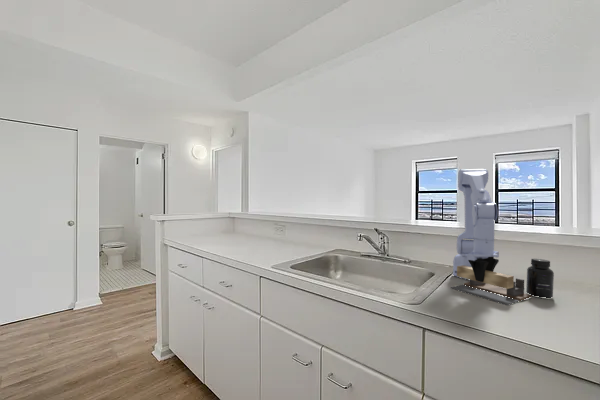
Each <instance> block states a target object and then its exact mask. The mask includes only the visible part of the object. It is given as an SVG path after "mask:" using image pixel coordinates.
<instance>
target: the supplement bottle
mask: <svg viewBox="0 0 600 400" xmlns="http://www.w3.org/2000/svg"><path fill="white" fill-rule="evenodd" d="M530 261H531V262H530V266H528V267H527V268H526V285H525V286H526V288H525V289H526V290H525V292H527V293H529V294H531V295H534V296H539V297H546V298H551V297H554V278H555V273H554V271H553V270H552V269H551V268H550V267H551V261H550V260H548V259H542V258H531V259H530ZM527 293H526V294H527Z"/></svg>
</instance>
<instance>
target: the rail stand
mask: <svg viewBox="0 0 600 400" xmlns="http://www.w3.org/2000/svg"><path fill="white" fill-rule="evenodd" d="M463 285H466V286H470V287H473V288H477V289H481V290H485V291H488V292H492V293H496V294H500V295H503V296H507V297H510V298H513V299H516V300H519V302H520V301H521V300H524V299H526V298H529V297H532V298H533V296H532V295H528V294H527V293H525V279H522V278H515V281H514V284H513V288H509V289H506V288H502V287H498V286H494V285H490V284H486V283H482V282H478V281H474V280H469V281H467V282H463ZM524 301H525V300H524ZM521 302H522V301H521Z"/></svg>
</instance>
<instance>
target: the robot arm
mask: <svg viewBox="0 0 600 400" xmlns="http://www.w3.org/2000/svg"><path fill="white" fill-rule="evenodd" d="M457 179H458V180H457V188H458V191H461V192H463V193H462V194H463V197H464V199H463V200H464V231H463V232H461V233H460V234H458V236H457V238H456V253H457V254H456V255H455V256H454V257H453V261H452V262H453V263H452V264H453V265H452V267H453V269H452V270H453V271H452V275H454V276H457V266H462V265H464V266H469V267H472V269H473V272H474V275H475V279H476V281H480V282H483V281H484V276H485V270H487V271H492V272H495V271H494V270H495V268H496V266H497V265H498V264H499V257H500V251H496V250H495V226H496V225H495V221H497V219H498V205H497V203H496V202H494V201H493V200H492V198H491V195H490V192H489V191H488V190H487V189H485V188H486V186H487V183H488V182H489V170H488V169H487V168H471V169H470V168H467V169H466V168H460V169H459V170H458V174H457ZM454 276H453V277H454ZM456 278H458V276H457V277H456ZM460 279H462V277H461V278H460ZM464 280H466V278H465V279H464Z"/></svg>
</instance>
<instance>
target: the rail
mask: <svg viewBox="0 0 600 400" xmlns="http://www.w3.org/2000/svg"><path fill="white" fill-rule="evenodd" d="M457 276H458V277H462V278H466V279H470V280H474V281H476V279H475V275H474V272H473V269H472V267H469V266H464V265H462V266H457ZM458 277H457V278H458ZM462 278H461V279H462ZM466 279H465V280H466ZM470 280H469V281H470ZM478 282H480V281H478ZM514 282H515V278H514V275H509V274H505V273H500V272H496V271H493V272H492V271H487V270H485V276H484V281H483V282H482V283H486V284H489V285H493V286H497V287H501V288H505V289H509V288H513V284H514Z"/></svg>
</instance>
